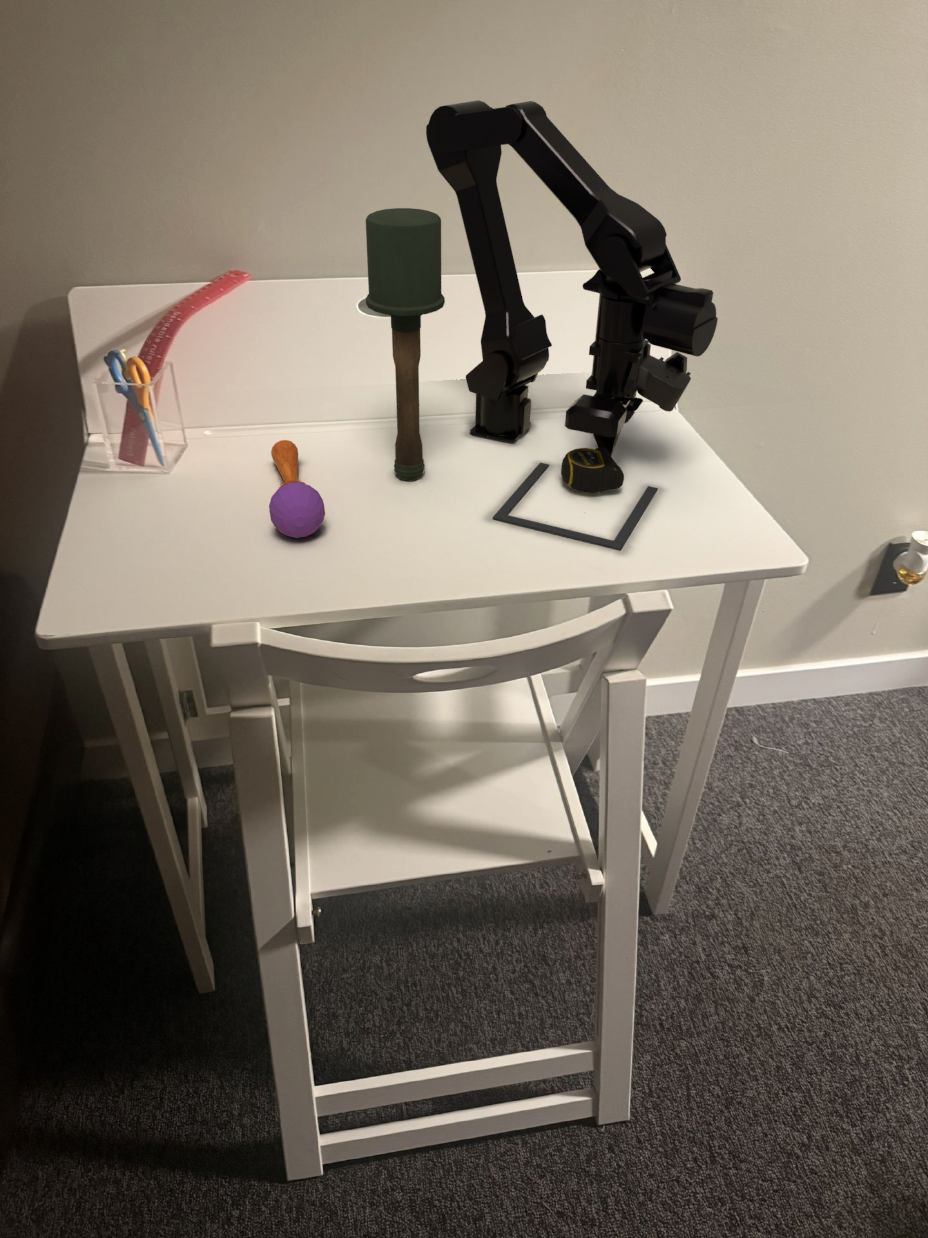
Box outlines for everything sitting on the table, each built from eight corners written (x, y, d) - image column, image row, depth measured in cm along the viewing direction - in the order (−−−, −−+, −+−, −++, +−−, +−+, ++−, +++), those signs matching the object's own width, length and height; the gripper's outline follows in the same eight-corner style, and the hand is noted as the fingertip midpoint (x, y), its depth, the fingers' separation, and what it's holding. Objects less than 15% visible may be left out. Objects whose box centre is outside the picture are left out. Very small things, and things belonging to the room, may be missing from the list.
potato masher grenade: (447, 461, 114) (448, 207, 96) (439, 494, 107) (439, 227, 89) (381, 457, 115) (370, 204, 97) (369, 490, 108) (354, 224, 90)
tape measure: (623, 497, 108) (627, 468, 105) (568, 501, 107) (571, 472, 104) (606, 470, 113) (610, 443, 111) (553, 474, 112) (556, 446, 110)
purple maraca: (311, 431, 112) (330, 497, 95) (306, 476, 114) (324, 548, 98) (261, 427, 110) (273, 493, 93) (258, 473, 113) (269, 545, 96)
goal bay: (492, 519, 103) (492, 517, 103) (540, 464, 114) (540, 462, 114) (620, 550, 98) (621, 548, 98) (657, 490, 109) (657, 487, 109)
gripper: (669, 374, 94) (649, 504, 104) (707, 320, 108) (687, 439, 117) (568, 357, 98) (558, 485, 107) (617, 306, 112) (604, 423, 121)
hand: (606, 457), depth 113 cm, fingers closed
